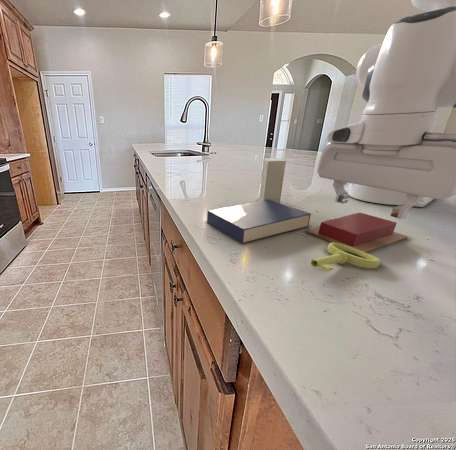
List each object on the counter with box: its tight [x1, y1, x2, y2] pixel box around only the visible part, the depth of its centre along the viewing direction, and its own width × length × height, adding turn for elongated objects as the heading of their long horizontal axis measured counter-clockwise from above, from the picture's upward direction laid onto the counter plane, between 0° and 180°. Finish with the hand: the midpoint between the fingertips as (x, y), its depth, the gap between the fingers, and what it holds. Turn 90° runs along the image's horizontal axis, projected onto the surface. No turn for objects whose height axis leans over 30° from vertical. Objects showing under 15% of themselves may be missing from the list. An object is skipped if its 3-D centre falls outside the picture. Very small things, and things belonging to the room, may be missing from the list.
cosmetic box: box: [258, 157, 287, 204], centre depth 66 cm, size 6×4×12 cm
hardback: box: [206, 199, 312, 244], centre depth 54 cm, size 18×12×3 cm, turn 113°
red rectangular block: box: [318, 212, 398, 246], centre depth 48 cm, size 12×6×2 cm, turn 112°
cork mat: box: [306, 227, 408, 253], centre depth 48 cm, size 14×10×1 cm
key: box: [310, 242, 381, 272], centre depth 38 cm, size 7×12×2 cm, turn 132°
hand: (367, 209), depth 46 cm, fingers open, 8 cm apart
